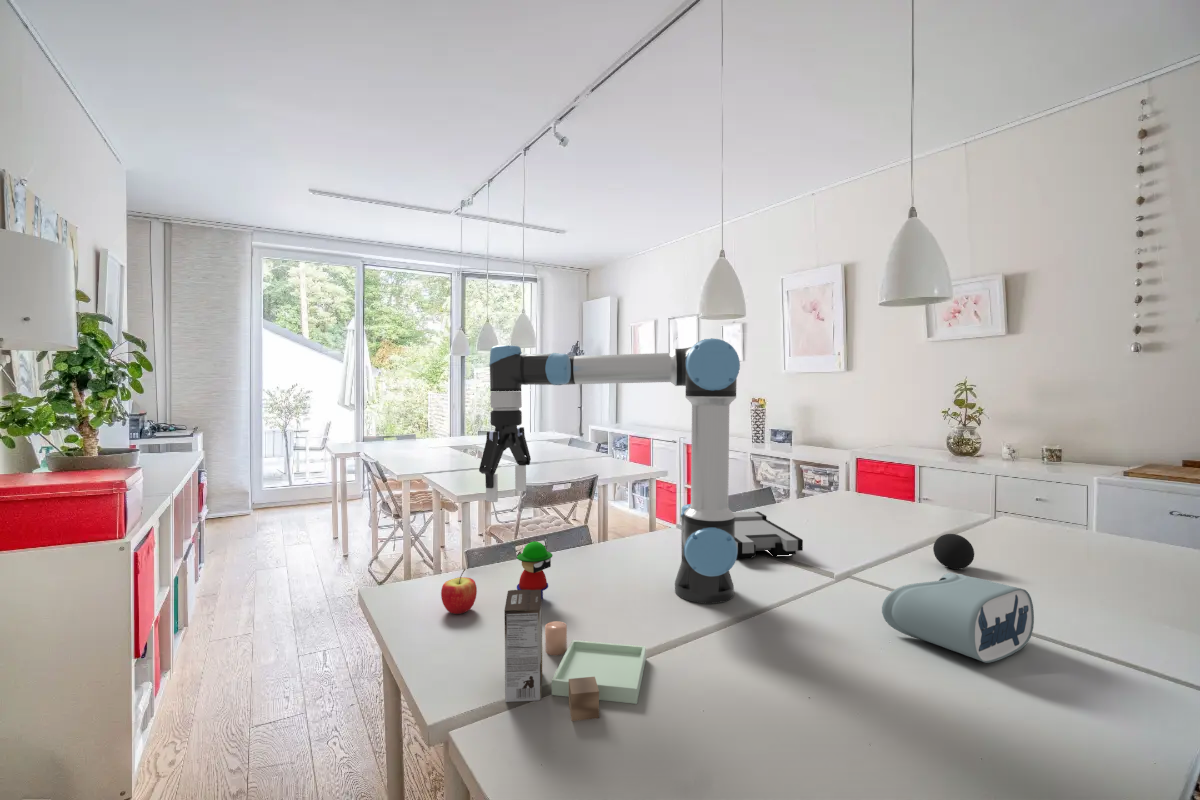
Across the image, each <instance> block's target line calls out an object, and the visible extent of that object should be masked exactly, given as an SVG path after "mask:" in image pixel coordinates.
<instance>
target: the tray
mask: <svg viewBox="0 0 1200 800" xmlns="http://www.w3.org/2000/svg"><path fill="white" fill-rule="evenodd" d="M646 660H647V646H645V645H635V644H627V643H626V644H624V643H613V642H600V641H586V640H578V639H577V640H576V639H572V640H571V641H570V643H569V645H568V646H567V651H566V652H565V653H564V654H563V657H562V659H561V661H560V663H559V665H558V667H557V668H556V671H555V672H554V675H553V676H552V679H551V695H552V696H559V697H568V698H569V679H574V678H584V677H595V679H596V683H597V686H598V690H599V701H604V702H605V701H606V702H615V703H616V702H617V703H626V704H633V705H634V704H635V705H637V704H638V700H639V695H640V691H641V685H642V681H643V675H644V670H645V666H646V662H647V661H646Z"/></svg>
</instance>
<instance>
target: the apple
mask: <svg viewBox="0 0 1200 800" xmlns="http://www.w3.org/2000/svg"><path fill="white" fill-rule="evenodd" d="M465 571H466V568H464V569H463V570H462V573H461V574H460V577H459V576H458V577H455V578H452V579H451V578H450V579H449V580H447V581H445V582H444V583H443V584H442V587H441V592H440V596H441V597H440V598H441V603H442V605H443V607H444V608H445V610H447V612H449V613H450V614H454V615H460V614H464V613H467V612H468V611H470V609H471V608H473V606H474V603H475V602H476V599H477V593H478V590H477V584H476V581H475V580H474V578H471V577H465V576H463V574H464V572H465Z"/></svg>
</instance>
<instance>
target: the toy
mask: <svg viewBox="0 0 1200 800" xmlns="http://www.w3.org/2000/svg"><path fill="white" fill-rule="evenodd" d="M547 550H548V549H547V548H546V546H545V545H544V544H543V543H541V542H540V541H531V542H528V543H527V544H526V545H525V546H524V548H523V549H522V552H521V553H519V554H518V555H517V556H516V558H517V560H518V561H520V562H521V566H522V568H523V571H522V572H521V574H520V577H519V582H518V584H517V585H516V590H541V596H542V600H543V599H544V591H546V590H547V589H548V588H549V583H548V581H547V577H546V574H545V572H544V570H546V569H548V568H551V566H552V565H551V562H552V561H551V558H553V556H554V555H553V553H552V552H550V551H547Z"/></svg>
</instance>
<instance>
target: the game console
mask: <svg viewBox="0 0 1200 800" xmlns="http://www.w3.org/2000/svg"><path fill="white" fill-rule="evenodd" d="M732 512H733V513H734V514H735V542H736V544H737V549H738V552H737V559H736V560H747V559H753V557H756V556H757V555H756V553H757V551H758V552H760V551H761V552H762V551H764V550H768V551H769V552H770V553H771V554H772V555H773V556H772V557H773V558H777V557H776V556H777V555H789V554H792V555H796V554H797V552H802V551H803V548H804V546H803V545H804V543H803V539H802V538H800V537H798V536H797V535H795V534H794V533H792V532H790V531H787V530H786V529H785V528H782V527H781V526H779V525H777V524H776V523H774V522H772V521H770V520H768V519H767V518H768V516H767V515H766V514H764V513H762V512H760V511H741V512H740V511H738V512H735V511H732Z"/></svg>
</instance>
